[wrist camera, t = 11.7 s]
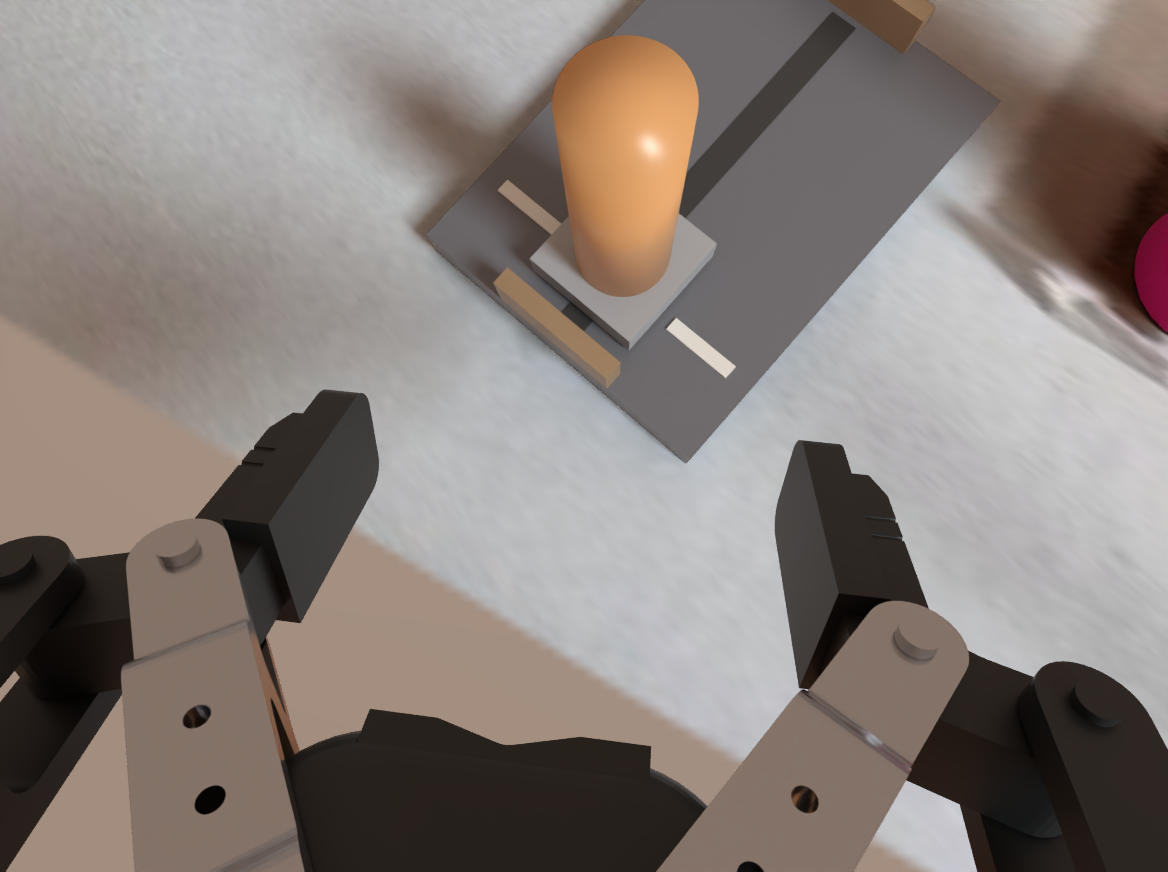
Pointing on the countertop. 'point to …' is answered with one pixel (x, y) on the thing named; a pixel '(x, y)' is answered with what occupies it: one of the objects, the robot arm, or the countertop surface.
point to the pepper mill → (1154, 271)
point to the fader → (624, 184)
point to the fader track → (737, 194)
